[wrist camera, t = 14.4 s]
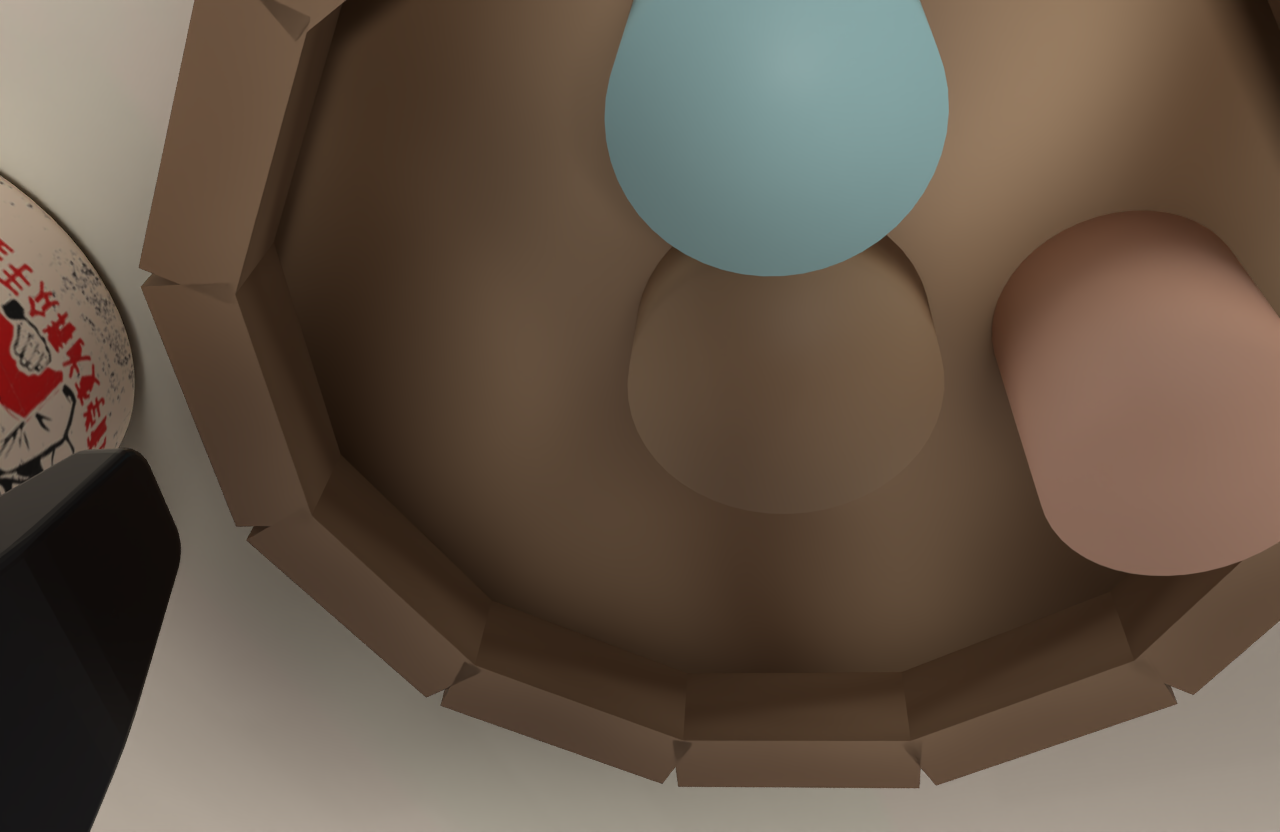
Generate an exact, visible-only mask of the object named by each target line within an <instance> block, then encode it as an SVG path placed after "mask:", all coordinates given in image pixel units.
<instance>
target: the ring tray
mask: <svg viewBox="0 0 1280 832" xmlns="http://www.w3.org/2000/svg"><path fill="white" fill-rule="evenodd" d="M920 2H921V5H922V8H923V10H924V13H925V16H926V18H927V21H928V24H929V26H930V29H931V32H932V35H933V37H934V40H935V43H936V45H937V48H938V51H939V54H940V57H941V60H942V63H943V66H944V70H945V76H946V81H947V86H948V101H949V115H948V125H947V134H946V138H945V142H944V146H943V151H942V154H941V157H940V160H939V162H938V165H937V167H936V170H935V173H934V175H933V177H932V179H931V180H930V182H929V184H928V186H927V188H926V190H925V191H924V193H923V195H922V196H921V197H920V199H919V200H918V202H917V203H916V204H915V206H914V207H913V209H912V210H911V211H910V212H909V213H908V214H907V215H906V217H905V218H904V219H903V220H902V221H901V222H900V223H899V224H898V225H897V226H896V227H895V228H894V229H893V230H891V231H890V232H889V233H888V234H887V235H886V236H884V237H883V238H882V239H881V240H880V241H878V242H876V243H875V244H873V245H872V246H870V247H869V248H867V249H866V250H864V251H863V252H861V253H859V254H857V255H855V256H853V257H851V258H849V259H847V260H845V261H843V262H840V263H838V264H835V265H832V266H830V267H827V268H824V269H820V270H816V271H812V272H808V273H804V274H796V275H788V276H755V275H745V274H739V273H734V272H730V271H726V270H721V269H719V268H716V267H713V266H710V265H707V264H704V263H702V262H700V261H698V260H696V259H694V258H692V257H690V256H688V255H686V254H684V253H682V252H681V251H679V250H678V249H676V248H675V247H673V246H672V245H670V244H669V243H667V242H666V241H665V240H664V239H663V238H661V237H660V236H659V235H658V234H657V233H655V232H654V231H653V230H652V229H651V228H650V227H649V226H648V225H647V223H646V222H645V221H644V220H643V219H642V218H641V217H640V216H639V215H638V213H637V212H636V210H635V209H634V208H633V206H632V205H631V203H630V202H629V200H628V199H627V197H626V195H625V193H624V192H623V190H622V188H621V186H620V184H619V182H618V180H617V177H616V174H615V172H614V169H613V166H612V163H611V161H610V156H609V151H608V147H607V142H606V132H605V120H604V119H605V101H606V94H607V89H608V84H609V79H610V75H611V71H612V68H613V65H614V62H615V58H616V55H617V52H618V49H619V45H620V42H621V39H622V36H623V32H624V29H625V26H626V23H627V19H628V16H629V13H630V10H631V6H632V3H633V0H195V1H194V6H193V10H192V15H191V20H190V25H189V30H188V34H187V39H186V44H185V49H184V53H183V58H182V63H181V68H180V73H179V77H178V82H177V87H176V92H175V97H174V101H173V106H172V111H171V116H170V120H169V125H168V130H167V135H166V140H165V144H164V149H163V154H162V159H161V163H160V168H159V173H158V178H157V183H156V187H155V192H154V197H153V202H152V206H151V211H150V216H149V221H148V226H147V230H146V235H145V240H144V245H143V249H142V254H141V259H140V264H139V268H140V269H143V270H145V271H148V272H150V273H152V275H151V276H150V277H149V278H148V279H147V280H146V281H145V283H144V284H143V285H142V286H141V289H142V291H143V294H144V296H145V299H146V301H147V304H148V306H149V309H150V311H151V314H152V316H153V319H154V321H155V324H156V326H157V329H158V331H159V334H160V336H161V339H162V341H163V344H164V346H165V349H166V351H167V354H168V356H169V359H170V361H171V364H172V366H173V369H174V372H175V374H176V377H177V379H178V382H179V384H180V387H181V389H182V392H183V394H184V397H185V399H186V402H187V404H188V407H189V409H190V412H191V414H192V417H193V419H194V422H195V424H196V427H197V429H198V432H199V434H200V437H201V439H202V442H203V444H204V447H205V449H206V452H207V454H208V457H209V459H210V462H211V464H212V467H213V469H214V472H215V474H216V477H217V479H218V482H219V485H220V487H221V490H222V492H223V495H224V497H225V500H226V502H227V505H228V507H229V510H230V512H231V515H232V517H233V520H234V522H235V525H236V527H242V526H254V527H253V529H252V531H251V532H250V534H249V536H248V538H247V541H248V542H249V543H250V544H251V545H252V546H253V547H255V548H256V549H257V550H258V551H259V552H260V553H261V554H263V555H264V556H265V557H266V558H267V559H268V560H269V561H271V562H272V563H273V564H274V565H275V566H276V567H278V568H279V569H280V570H281V571H282V572H283V573H284V574H286V575H287V576H288V577H289V578H290V579H291V580H292V581H294V582H295V583H296V584H297V585H298V586H299V587H300V588H302V589H303V590H304V591H305V592H306V593H307V594H308V595H310V596H311V597H312V598H313V599H314V600H315V601H316V602H318V603H319V604H320V605H321V606H322V607H323V608H324V609H326V610H327V611H328V612H329V613H330V614H331V615H332V616H334V617H335V618H336V619H337V620H338V621H339V622H340V623H342V624H343V625H344V626H345V627H346V628H347V629H348V630H350V631H351V632H352V633H353V634H354V635H355V636H356V637H358V638H359V639H360V640H361V641H362V642H363V643H364V644H366V645H367V646H368V647H369V648H370V649H371V650H372V651H374V652H375V653H376V654H377V655H378V656H379V657H380V658H382V659H383V660H384V661H385V662H386V663H387V664H388V665H390V666H391V667H392V668H393V669H394V670H395V671H396V672H398V673H399V674H400V675H401V676H402V677H403V678H404V679H406V680H407V681H408V682H409V683H410V684H411V685H412V686H414V687H415V688H416V689H417V690H418V691H419V692H420V693H422V694H423V695H424V696H425V697H429V696H431V695H433V694H435V693H437V692H440V691H442V690H444V689H445V691H444V695H443V698H442V702H441V705H440V706H443V707H446V708H449V709H451V710H454V711H457V712H460V713H463V714H466V715H468V716H471V717H474V718H477V719H480V720H483V721H485V722H488V723H491V724H494V725H497V726H500V727H502V728H505V729H508V730H511V731H514V732H517V733H519V734H522V735H525V736H528V737H531V738H534V739H536V740H539V741H542V742H545V743H548V744H551V745H553V746H556V747H559V748H562V749H565V750H568V751H570V752H573V753H576V754H579V755H582V756H585V757H587V758H590V759H593V760H596V761H599V762H602V763H604V764H607V765H610V766H613V767H616V768H619V769H621V770H624V771H627V772H630V773H633V774H636V775H638V776H641V777H644V778H647V779H650V780H653V781H656V782H658V783H661V784H662V783H663V782H664V781H665V780H666V778H667V777H668V776H669V774H670V773H671V772H672V771H673V769H674V768H675V767H676V773H677V781H678V787H818V788H919V785H920V769H922V770H923V771H924V772H925V773H926V774H927V776H928V777H929V778H930V779H931V780H932V781H933V783H934V784H935V785H939V784H942V783H945V782H948V781H951V780H954V779H957V778H960V777H963V776H966V775H969V774H972V773H975V772H978V771H980V770H983V769H986V768H989V767H992V766H995V765H998V764H1001V763H1004V762H1007V761H1010V760H1013V759H1016V758H1019V757H1022V756H1025V755H1028V754H1031V753H1034V752H1037V751H1040V750H1042V749H1045V748H1048V747H1051V746H1054V745H1057V744H1060V743H1063V742H1066V741H1069V740H1072V739H1075V738H1078V737H1081V736H1084V735H1087V734H1090V733H1093V732H1096V731H1099V730H1102V729H1104V728H1107V727H1110V726H1113V725H1116V724H1119V723H1122V722H1125V721H1128V720H1131V719H1134V718H1137V717H1140V716H1143V715H1146V714H1149V713H1152V712H1155V711H1158V710H1161V709H1164V708H1166V707H1169V706H1172V705H1175V704H1177V701H1176V699H1175V696H1174V693H1173V691H1172V688H1171V686H1172V687H1175V688H1177V689H1180V690H1182V691H1185V692H1187V693H1190V694H1192V695H1194V694H1195V693H1196V692H1197V691H1199V690H1200V689H1201V688H1202V687H1203V686H1204V685H1206V684H1207V683H1208V682H1209V681H1210V680H1211V679H1213V678H1214V677H1215V676H1216V675H1217V674H1218V673H1219V672H1221V671H1222V670H1223V669H1224V668H1225V667H1226V666H1228V665H1229V664H1230V663H1231V662H1232V661H1233V660H1235V659H1236V658H1237V657H1238V656H1239V655H1240V654H1242V653H1243V652H1244V651H1245V650H1246V649H1247V648H1248V647H1250V646H1251V645H1252V644H1253V643H1254V642H1255V641H1257V640H1258V639H1259V638H1260V637H1261V636H1262V635H1264V634H1265V633H1266V632H1267V631H1268V630H1269V629H1271V628H1272V627H1273V626H1274V625H1275V624H1276V623H1278V622H1279V621H1280V542H1278V543H1277V544H1275V545H1273V546H1271V547H1270V548H1268V549H1266V550H1264V551H1262V552H1261V553H1258V554H1256V555H1254V556H1252V557H1249V558H1247V559H1245V560H1243V561H1240V562H1237V563H1234V564H1231V565H1228V566H1225V567H1222V568H1218V569H1214V570H1210V571H1206V572H1199V573H1193V574H1187V575H1174V576H1149V575H1140V574H1132V573H1127V572H1123V571H1118V570H1114V569H1111V568H1108V567H1105V566H1102V565H1099V564H1097V563H1095V562H1093V561H1091V560H1089V559H1087V558H1085V557H1083V556H1082V555H1080V554H1079V553H1077V552H1076V551H1074V550H1072V549H1071V548H1070V547H1069V546H1068V545H1067V544H1066V543H1064V542H1063V541H1062V540H1061V539H1060V538H1059V536H1058V535H1057V534H1056V533H1055V531H1054V530H1053V529H1052V528H1051V526H1050V524H1049V522H1048V521H1047V519H1046V517H1045V515H1044V512H1043V509H1042V506H1041V503H1040V500H1039V497H1038V494H1037V490H1036V487H1035V484H1034V481H1033V478H1032V474H1031V471H1030V468H1029V465H1028V461H1027V458H1026V455H1025V452H1024V448H1023V445H1022V442H1021V439H1020V435H1019V432H1018V429H1017V426H1016V423H1015V419H1014V416H1013V413H1012V410H1011V406H1010V403H1009V400H1008V397H1007V393H1006V390H1005V387H1004V384H1003V380H1002V377H1001V374H1000V371H999V368H998V364H997V361H996V358H995V355H994V350H993V344H992V322H993V316H994V312H995V308H996V305H997V302H998V299H999V297H1000V295H1001V293H1002V290H1003V288H1004V286H1005V285H1006V283H1007V282H1008V280H1009V279H1010V277H1011V275H1012V274H1013V273H1014V271H1015V270H1016V269H1017V268H1018V267H1019V265H1020V264H1021V263H1022V262H1023V261H1024V260H1025V259H1026V258H1027V257H1028V256H1029V255H1030V254H1031V253H1032V252H1033V251H1034V250H1035V249H1037V248H1038V247H1039V246H1041V245H1042V244H1043V243H1044V242H1046V241H1047V240H1048V239H1050V238H1052V237H1053V236H1055V235H1057V234H1058V233H1060V232H1062V231H1063V230H1065V229H1067V228H1070V227H1072V226H1074V225H1076V224H1078V223H1080V222H1083V221H1086V220H1089V219H1092V218H1095V217H1098V216H1102V215H1107V214H1111V213H1116V212H1124V211H1145V210H1149V211H1158V212H1166V213H1171V214H1175V215H1179V216H1182V217H1185V218H1188V219H1190V220H1193V221H1195V222H1197V223H1199V224H1201V225H1203V226H1204V227H1206V228H1208V229H1210V230H1211V231H1212V232H1213V233H1215V234H1216V235H1217V236H1218V237H1220V238H1221V239H1222V240H1223V241H1224V243H1225V244H1226V245H1227V246H1228V247H1229V248H1230V249H1231V251H1232V252H1233V254H1234V255H1235V256H1236V258H1237V259H1238V261H1239V262H1240V263H1241V265H1242V266H1243V268H1244V269H1245V270H1246V272H1247V273H1248V275H1249V276H1250V277H1251V279H1252V280H1253V282H1254V283H1255V284H1256V286H1257V287H1258V288H1259V290H1260V291H1261V293H1262V294H1263V295H1264V297H1265V298H1266V300H1267V301H1268V302H1269V304H1270V305H1271V307H1272V308H1273V309H1274V311H1275V312H1276V314H1277V315H1278V316H1279V318H1280V0H920Z"/></svg>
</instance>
